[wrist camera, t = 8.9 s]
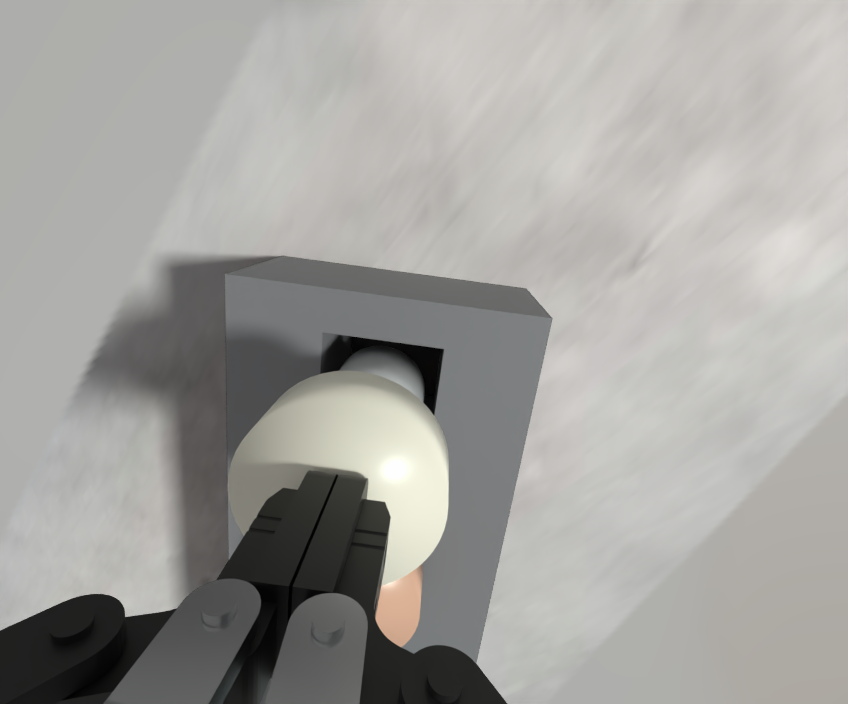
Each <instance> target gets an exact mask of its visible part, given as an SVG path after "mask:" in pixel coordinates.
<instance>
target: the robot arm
mask: <svg viewBox="0 0 848 704" xmlns="http://www.w3.org/2000/svg"><path fill="white" fill-rule="evenodd" d="M367 492H368V478H362V477H355V476H348V475H339V476H338V474H332V473H325V472H318V471H311V470H309V471H308V472H307V473H306V475H305V477H304V479H303V481H302V482H301V484H300V486H299V488H298V490H296V489H289V488H282V489H281V490H279V491H278V492H277V493H275V494H274V495H272V496H271V497H270V498H268V499H267V500H266V501H265V503H264V505H263V506H262V508H261V509H260V511H259V513H258V514H257V518H255V519H254V521H253V522H252V524H251V526H250V527H249V531H247V532H246V534H245V535H244V537H243V538H242V540H241V542H240V543H239V545H238V546H237V548H236V550H235V551H234V553H233V554H232V556H231V558H230V559H229V561H228V562H227V564H226V566H225V567H224V569H223V570H222V572H221V574H220V575H219V577H218V578H217V580H216V581H212V582H209V583H207V584H205V585H203V586H201V587H199V588H197V589H196V590H194V591H193V592H192V593H190V594H189V595H188V596H187V597H186V598H185V599H184V600H183V602H182V603H181V604H180V605H179V607H178V608H177V609H173V610H170V611H165V612H159V613H152V614H145V615H138V616H130V617H125V611H124V607H123V605H122V604H121V602H120V601H119V600H117V599H116V598H114V597H112V596H109V595H104V594H90V595H84V596H79V597H76V598H73V599H70V600H67V601H65V602H62V603H60V604H58V605H56V606H53V607H51V608H49V609H47V610H45V611H42V612H40V613H38V614H36V615H34V616H31V617H29V618H27V619H25V620H23V621H20V622H18V623H16V624H14V625H12V626H9V627H7V628H5V629H3V630H1V631H0V704H260V703H261V701H262V698H263V695H264V693H265V690H266V687H267V685H268V682H269V680H270V678H272V679H271V682H270V686H269V689H268V693H267V696H266V699H265V703H264V704H507V703H506V702H505V700H504V699H503V698H502V696H501V695H500V694H499V693H498V691H497V690H496V689H495V687H494V686H493V685H492V684H491V682H490V681H489V680H488V678H487V677H486V676H485V675H484V673H483V672H482V671H481V669H480V668H479V667H478V665H477V664H476V663H475V662H474V661H473V660H472V659H471V658H470V657H469V656H468V655H466V654H465V653H463V652H462V651H460V650H458V649H456V648H453V647H450V646H445V645H432V646H428V647H425V648H423V649H420V650H419V651H417V652H416V653H414V654H413V653H412V652H410V651H408V650H406V649H404V648H402V647H400V646H398V645H396V644H395V643H393V642H392V641H390V640H389V639H388V638H387V637H386V636H385V635H384V634H383V633H382V631H381V630H380V628H379V626H378V624H377V622H376V619H375V618H376V612H377V607H378V601H379V596H380V590H381V585H382V579H383V574H384V568H385V561H386V553H387V544H388V536H389V528H390V520H391V516H390V513H389V511H388V508H387V506H386V503H385V502H382V501H375V500H368V499H367Z"/></svg>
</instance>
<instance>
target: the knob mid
mask: <svg viewBox="0 0 848 704" xmlns="http://www.w3.org/2000/svg"><path fill="white" fill-rule="evenodd" d="M422 579H423V566H422V564H421V565H420V566H419V567H418V568H416V569H415V570H413V571H412V572H411V573H409V574H408V575H406V576H404V577H402V578H400V579H398V580H396V581H394V582H391V583H388V584H385V585H383V586H381V590H380V596H379V601H378V607H377V612H376V618H375V619H376V622H377V624H378V626H379V628H380V630H381V631H382V633H383V634H384V635H385V636H386V637H387V638H388V639H389V640H390V641H392V642H393V643H395V644H396V645H398V646H400V647H402V646H404V645H405V644H406V643H407V642H408V641H409V640H410V639H411V637H412V636H413V634H414V633H415V631H416V628H417V626H418V622H419V618H420V605H421V592H422Z"/></svg>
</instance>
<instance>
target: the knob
mask: <svg viewBox="0 0 848 704" xmlns="http://www.w3.org/2000/svg"><path fill="white" fill-rule="evenodd" d="M424 394H425V384H424V379H423V376H422V373H421V371H420V369H419V367H418V366H417V365H416V363H415V362H414V361H413V360H412V359H411V358H410V357H409V356H408V355H406V354H405V353H403V352H401V351H399V350H397V349H394V348H391V347H386V346H371V347H367V348H363V349H361V350H359V351H357V352H355V353H354V354H352V355H351V356H350V357H349V358H348V359H347V360H346V361H345V362H344V364H343V365H342V367H341V368H340V370H339V371H333V372H327V373H322V374H318V375H315V376H312V377H309V378H307V379H305V380H303V381H301V382H299V383H297V384H296V385H294V386H293V387H291V388H290V389H288V390H287V391H286V392H285V393H284V394H283V395H282V396H280V398H279V399H278V400H277V401H276V402H275V403H274V404H273V405H272V407H271V408H270V409H269V410H268V411H267V412H266V413H265V414H264V416H263V417H262V418H261V419H260V420H259V421H258V422H257V424H256V425H255V426H254V427H253V428H252V429H251V430H250V431H249V433H248V434H247V435H246V436H245V437H244V439H243V440H242V441H241V443H240V445H239V446H238V448H237V450H236V452H235V454H234V457H233V459H232V462H231V466H230V470H229V475H228V495H229V502H230V506H231V510H232V513H233V516H234V518H235V521H236V523H237V525H238V527H239V529H240V531H241V532H242V534H243V536H244V535H245V534H246V532H247V531H249V527H250V526H251V524H252V522H253V521H254V519H255V518H257V514H258V513H259V511H260V509H261V508H262V506H263V505H264V503H265V501H266V500H267V499H268V498H270V497H271V496H272V495H274V494H275V493H277V492H278V491H279V490H281V489H282V488H289V489H296V490H298V488H299V486H300V484H301V482H302V481H303V479H304V477H305V475H306V473H307V472H308V471H309V470H311V471H318V472H325V473H332V474H338V476H339V475H348V476H355V477H362V478H368V492H367V499H368V500H375V501H382V502H385V503H386V506H387V508H388V511H389V513H390V516H391V520H390V528H389V536H388V544H387V553H386V561H385V568H384V574H383V579H382V585H381V586H383V585H385V584H388V583H391V582H394V581H396V580H398V579H400V578H402V577H404V576H406V575H408V574H409V573H411V572H412V571H413V570H415V569H416V568H418V567H419V566H420V565H421V564H422V563H423V562H424V561H425V560H426V559H427V558H428V557H429V556H430V554H431V553H432V552H433V551H434V549H435V548H436V546H437V544H438V543H439V541H440V539H441V537H442V534H443V532H444V529H445V525H446V521H447V515H448V493H449V458H448V448H447V444H446V439H445V437H444V434H443V431H442V429H441V427H440V425H439V423H438V421H437V419H436V418H435V416H434V415H433V414H432V412H431V411H430V410H429V408H428V407H427V406H426V405H425V404H424V403H423V401H424Z"/></svg>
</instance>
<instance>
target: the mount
mask: <svg viewBox="0 0 848 704" xmlns="http://www.w3.org/2000/svg"><path fill="white" fill-rule="evenodd" d="M551 323H552V317H551V316H550V315H549V314H548V313H547V312H546V310H545V309H544V308H543V307H542V306H541V305H540V304H539V302H538V301H537V300H536V299H535V298H534V297H533V296H532V295H531V293H530V292H529V291H528V290H527V289H525V288H517V287H510V286H502V285H495V284H487V283H480V282H473V281H465V280H458V279H450V278H443V277H435V276H428V275H421V274H413V273H406V272H398V271H391V270H383V269H376V268H369V267H361V266H354V265H346V264H339V263H331V262H324V261H317V260H309V259H302V258H294V257H287V256H281V257H278V258H274V259H271V260H268V261H265V262H262V263H258V264H255V265H252V266H249V267H246V268H242V269H239V270H236V271H233V272H230V273H226V274H225V331H226V405H227V479H228V475H229V470H230V466H231V462H232V459H233V457H234V454H235V452H236V450H237V448H238V446H239V445H240V443H241V441H242V440H243V439H244V437H245V436H246V435H247V434H248V433H249V431H250V430H251V429H252V428H253V427H254V426H255V425H256V424H257V422H258V421H259V420H260V419H261V418H262V417H263V416H264V414H265V413H266V412H267V411H268V410H269V409H270V408H271V407H272V405H273V404H274V403H275V402H276V401H277V400H278V399H279V398H280V396H282V395H283V394H284V393H285V392H286V391H287V390H288V389H290V388H291V387H293V386H294V385H296V384H297V383H299V382H301V381H303V380H305V379H307V378H309V377H312V376H315V375H318V374H322V373H327V372H333V371H339V370H340V368H341V367H342V365H343V364H344V362H345V361H346V360H347V359H348V358H349V357H350V354H351V341H352V336H353V337H360V338H368V339H375V340H382V341H390V342H397V343H404V344H411V345H419V346H426V347H433V348H441V350H440V357H439V364H438V371H437V378H436V385H435V392H434V396H427V395H424V401H423V403H424V404H425V405H426V406H427V407H428V408H429V410H430V411H431V412H432V414H433V415H434V416H435V418H436V419H437V421H438V423H439V425H440V427H441V429H442V431H443V434H444V437H445V439H446V444H447V448H448V458H449V493H448V515H447V521H446V525H445V529H444V532H443V534H442V537H441V539H440V541H439V543H438V544H437V546H436V548H435V549H434V551H433V552H432V553H431V554H430V556H429V557H428V558H427V559H426V560H425V561H424V562H423V563H422V566H423V579H422V592H421V605H420V618H419V622H418V626H417V628H416V631H415V633H414V634H413V636H412V637H411V639H410V640H409V641H408V642H407V643H406V644H405V645H404V646H402V648H404V649H406V650H408V651H410V652H412V653H413V654H414V653H416V652H417V651H419V650H420V649H423V648H425V647H428V646H432V645H445V646H450V647H453V648H456V649H458V650H460V651H462V652H463V653H465V654H466V655H468V656H469V657H470V658H471V659H472V660H473V661H474V662H475V663H476V662H477V658H478V653H479V649H480V644H481V640H482V635H483V631H484V626H485V622H486V617H487V612H488V608H489V603H490V599H491V594H492V590H493V585H494V581H495V576H496V572H497V567H498V563H499V558H500V554H501V549H502V545H503V540H504V536H505V531H506V526H507V522H508V517H509V513H510V508H511V504H512V499H513V495H514V490H515V486H516V481H517V477H518V472H519V468H520V463H521V459H522V454H523V450H524V445H525V441H526V436H527V431H528V427H529V422H530V418H531V413H532V409H533V404H534V400H535V395H536V391H537V386H538V382H539V377H540V373H541V368H542V364H543V359H544V355H545V350H546V346H547V341H548V336H549V332H550V327H551ZM243 537H244V536H243V534H242V532H241V531H240V529H239V527H238V525H237V523H236V521H235V518H234V516H233V513H232V510H231V506H230V502H229V495H228V553H229V559H230V558H231V556H232V554H233V553H234V551H235V550H236V548H237V546H238V545H239V543H240V542H241V540H242V538H243ZM271 679H272V678H270V680H269V682H268V685H267V687H266V690H265V693H264V695H263V698H262V701H261V703H260V704H264V703H265V699H266V696H267V693H268V689H269V686H270V682H271Z"/></svg>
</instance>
